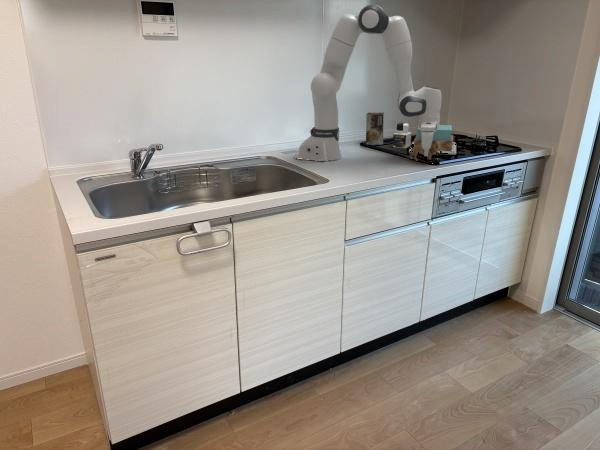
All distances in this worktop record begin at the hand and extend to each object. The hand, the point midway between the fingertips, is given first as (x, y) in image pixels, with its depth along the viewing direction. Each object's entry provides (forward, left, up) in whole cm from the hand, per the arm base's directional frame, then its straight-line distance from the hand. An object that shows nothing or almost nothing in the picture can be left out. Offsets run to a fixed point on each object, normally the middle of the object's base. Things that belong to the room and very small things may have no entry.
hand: (426, 154), depth 202 cm
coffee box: (-29, +32, -3) cm, 43 cm away
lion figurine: (-1, 0, -3) cm, 3 cm away
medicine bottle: (-14, +27, -3) cm, 31 cm away
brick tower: (+2, +25, -3) cm, 25 cm away
